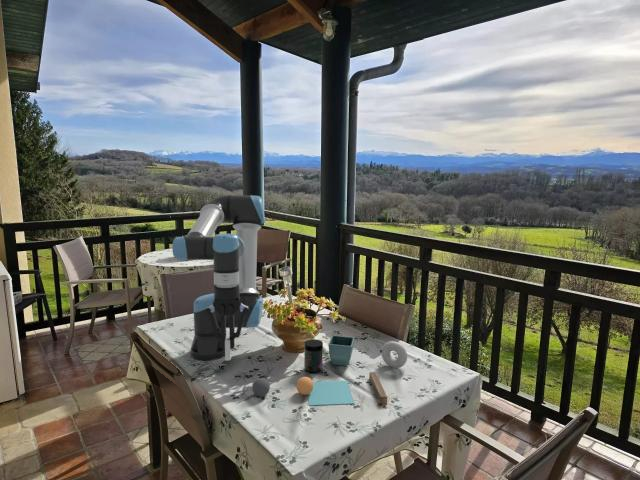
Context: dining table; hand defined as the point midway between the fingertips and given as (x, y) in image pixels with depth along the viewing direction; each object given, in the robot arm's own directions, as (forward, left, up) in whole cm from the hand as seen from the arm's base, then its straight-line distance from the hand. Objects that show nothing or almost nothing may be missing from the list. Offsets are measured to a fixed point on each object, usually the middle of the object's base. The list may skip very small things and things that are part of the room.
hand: (228, 358), depth 122 cm
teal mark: (+32, 0, -13) cm, 35 cm away
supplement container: (+28, +16, -13) cm, 35 cm away
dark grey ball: (+10, 0, -10) cm, 14 cm away
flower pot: (+39, +21, -13) cm, 46 cm away
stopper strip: (+48, 0, -13) cm, 50 cm away
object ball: (+24, 0, -10) cm, 26 cm away
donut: (+58, +16, -13) cm, 62 cm away
